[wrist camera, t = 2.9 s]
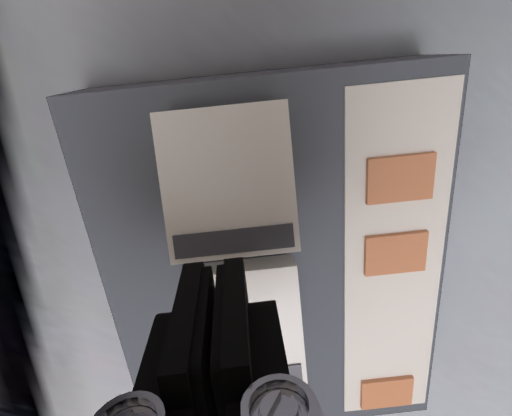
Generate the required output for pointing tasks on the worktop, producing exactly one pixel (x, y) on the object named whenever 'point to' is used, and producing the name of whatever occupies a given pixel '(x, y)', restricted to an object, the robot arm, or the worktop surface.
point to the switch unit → (309, 210)
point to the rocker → (227, 181)
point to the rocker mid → (278, 301)
